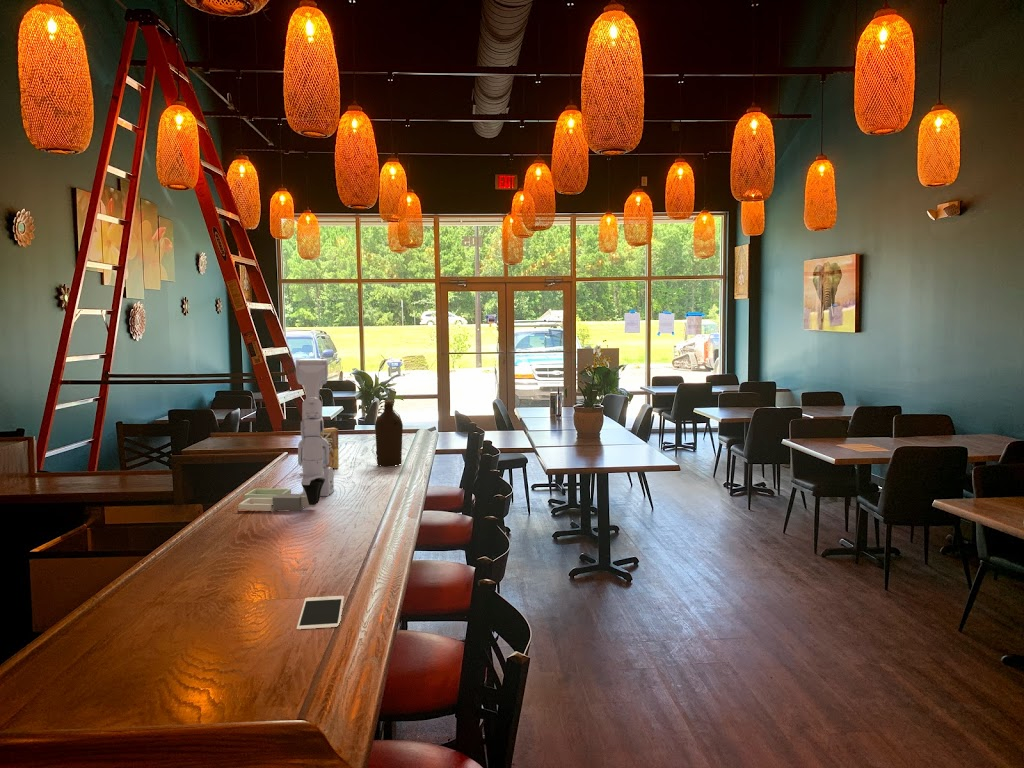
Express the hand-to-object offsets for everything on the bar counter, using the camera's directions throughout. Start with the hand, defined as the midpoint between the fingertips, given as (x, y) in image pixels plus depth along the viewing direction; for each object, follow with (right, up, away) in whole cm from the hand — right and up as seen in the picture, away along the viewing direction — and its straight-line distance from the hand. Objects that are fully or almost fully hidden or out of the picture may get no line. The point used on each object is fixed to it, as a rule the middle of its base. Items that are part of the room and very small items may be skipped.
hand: (313, 503), depth 229 cm
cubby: (-16, -2, +1) cm, 16 cm away
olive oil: (+11, +4, +69) cm, 70 cm away
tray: (-17, -1, +12) cm, 21 cm away
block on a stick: (-6, -2, 0) cm, 6 cm away
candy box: (-11, +3, +61) cm, 62 cm away
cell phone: (+22, -9, -80) cm, 83 cm away
